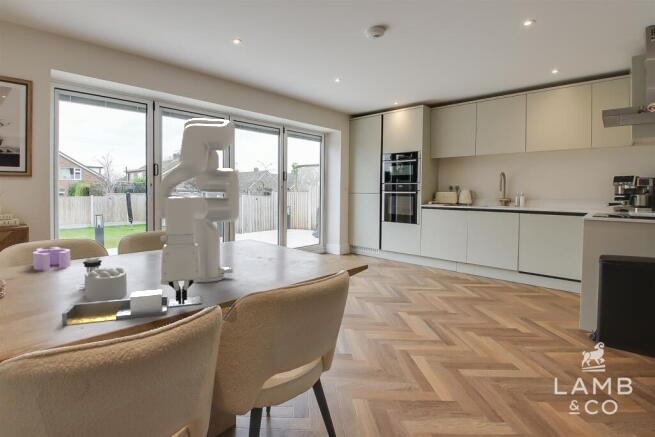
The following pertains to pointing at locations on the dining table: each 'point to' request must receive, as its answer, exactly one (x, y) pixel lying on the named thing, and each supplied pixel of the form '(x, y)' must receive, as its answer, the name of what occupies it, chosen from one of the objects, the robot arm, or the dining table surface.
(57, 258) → the purple lobed block
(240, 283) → the dining table surface
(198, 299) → the tab
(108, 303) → the rail
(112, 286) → the lumpy-topped squat cylinder
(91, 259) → the push button
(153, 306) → the clip block
